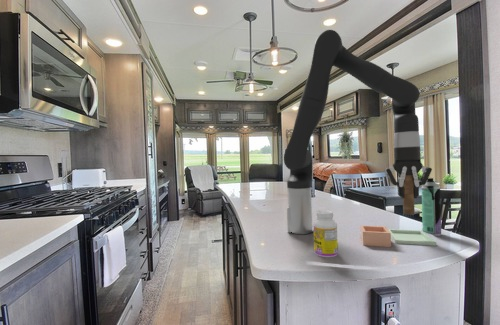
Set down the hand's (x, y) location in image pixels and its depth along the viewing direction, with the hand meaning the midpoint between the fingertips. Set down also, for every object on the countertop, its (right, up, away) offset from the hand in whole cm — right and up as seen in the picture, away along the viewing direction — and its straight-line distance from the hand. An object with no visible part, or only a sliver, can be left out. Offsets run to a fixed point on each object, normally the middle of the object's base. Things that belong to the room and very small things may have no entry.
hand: (408, 197), depth 85 cm
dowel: (0, -5, 0) cm, 5 cm away
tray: (0, -14, 0) cm, 14 cm away
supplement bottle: (-31, -16, -10) cm, 36 cm away
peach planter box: (-12, -15, -3) cm, 20 cm away
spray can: (+12, -14, +6) cm, 20 cm away
